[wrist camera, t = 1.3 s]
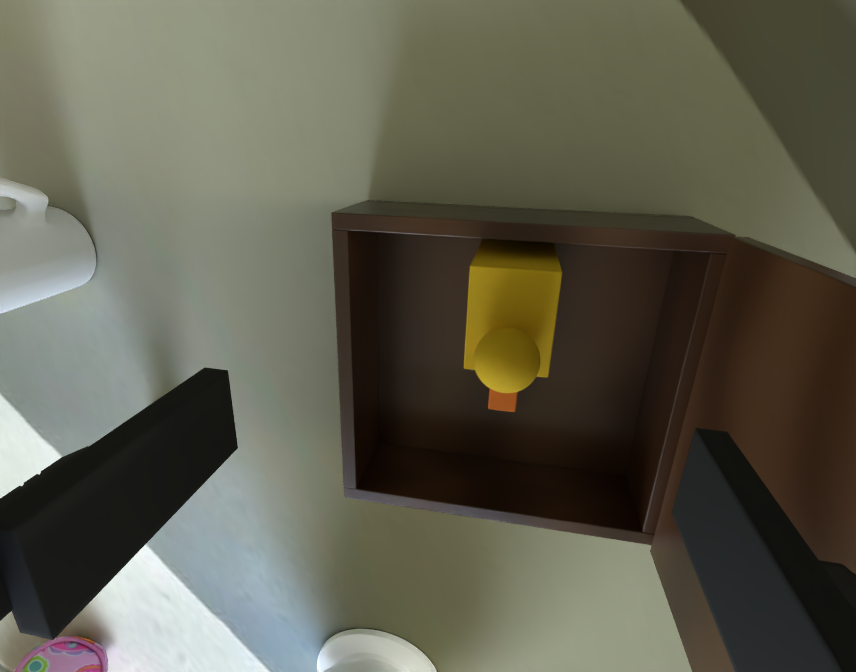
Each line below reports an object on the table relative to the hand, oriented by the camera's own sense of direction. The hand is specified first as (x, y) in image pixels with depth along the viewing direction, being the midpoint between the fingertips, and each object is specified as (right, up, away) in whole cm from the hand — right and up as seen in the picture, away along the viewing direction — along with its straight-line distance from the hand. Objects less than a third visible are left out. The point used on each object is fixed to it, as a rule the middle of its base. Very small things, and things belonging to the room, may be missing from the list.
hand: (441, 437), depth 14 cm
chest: (+5, +2, +20) cm, 20 cm away
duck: (+5, +6, +17) cm, 19 cm away
